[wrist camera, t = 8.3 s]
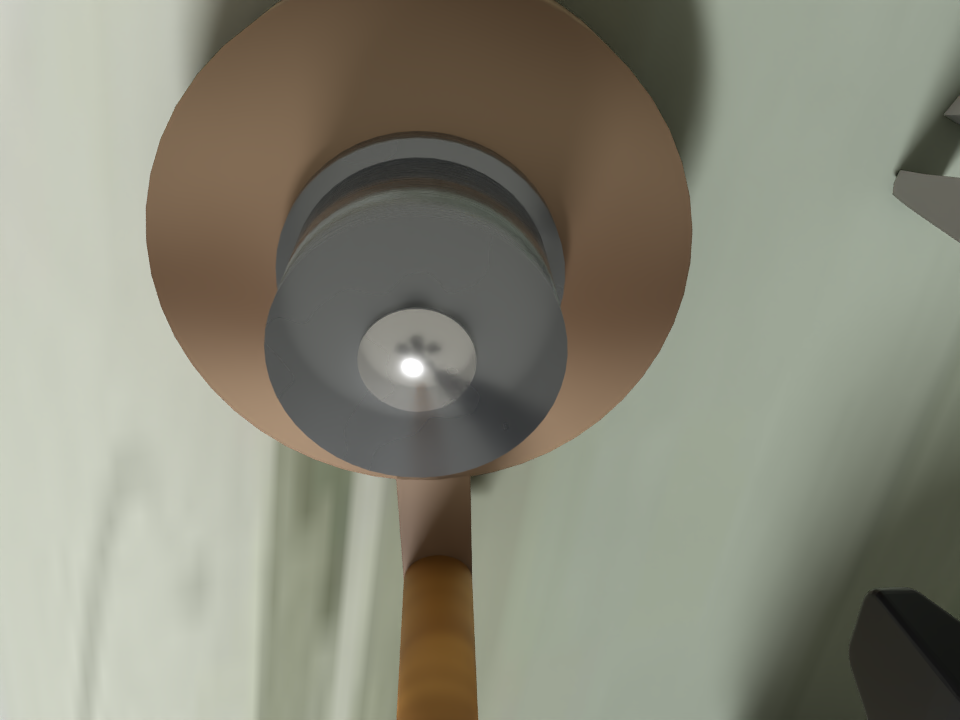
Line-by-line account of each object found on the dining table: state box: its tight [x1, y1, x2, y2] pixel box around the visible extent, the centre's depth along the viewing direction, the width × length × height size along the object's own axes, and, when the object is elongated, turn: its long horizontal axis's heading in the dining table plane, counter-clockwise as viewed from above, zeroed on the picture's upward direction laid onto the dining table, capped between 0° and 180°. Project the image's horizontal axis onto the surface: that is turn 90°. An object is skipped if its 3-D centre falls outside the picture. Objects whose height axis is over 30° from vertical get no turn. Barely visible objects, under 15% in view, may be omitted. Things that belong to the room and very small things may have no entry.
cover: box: [264, 131, 568, 478], centre depth 14 cm, size 5×5×3 cm
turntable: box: [146, 0, 692, 720], centre depth 15 cm, size 14×10×7 cm
